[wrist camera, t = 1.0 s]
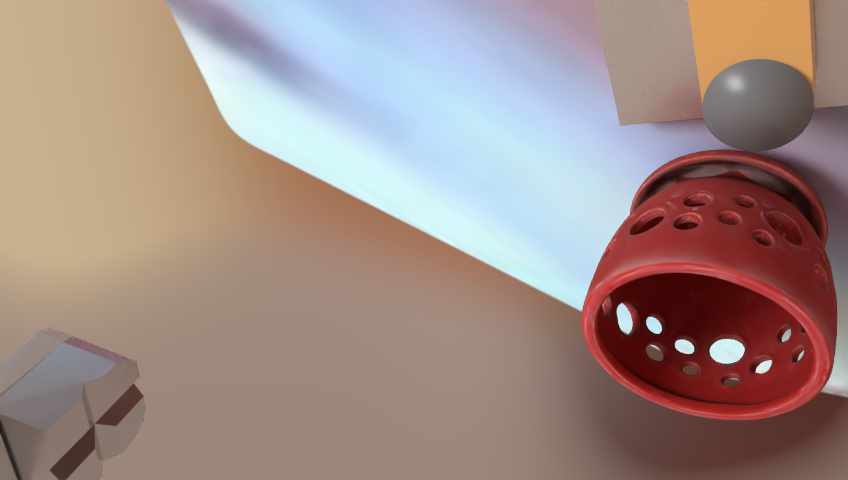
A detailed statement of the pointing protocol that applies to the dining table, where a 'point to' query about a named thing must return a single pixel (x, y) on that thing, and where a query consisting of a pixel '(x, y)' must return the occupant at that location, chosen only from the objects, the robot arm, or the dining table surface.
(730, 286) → the plant pot
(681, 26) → the panel
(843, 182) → the dining table surface
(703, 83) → the swing bar
